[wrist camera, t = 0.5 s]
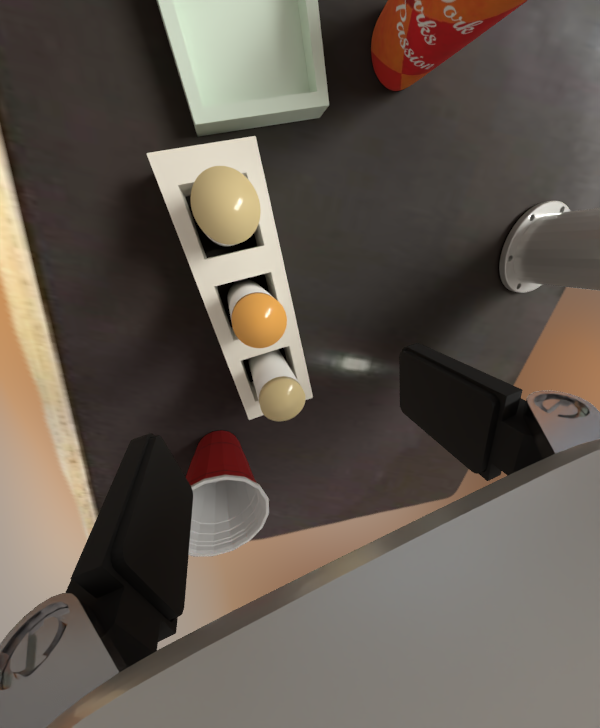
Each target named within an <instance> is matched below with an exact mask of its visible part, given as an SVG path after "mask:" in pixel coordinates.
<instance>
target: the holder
mask: <svg viewBox="0 0 600 728" xmlns="http://www.w3.org/2000/svg"><path fill="white" fill-rule="evenodd" d="M146 154H147V156H148V159H149V161H150V164H151V167H152V169H153V172H154V174H155V177H156V180H157V182H158V185H159V187H160V190H161V193H162V195H163V198H164V200H165V203H166V206H167V208H168V211H169V213H170V216H171V219H172V221H173V224H174V226H175V229H176V232H177V234H178V237H179V239H180V242H181V245H182V247H183V250H184V252H185V255H186V258H187V260H188V263H189V265H190V268H191V271H192V273H193V276H194V278H195V281H196V284H197V286H198V289H199V291H200V294H201V297H202V299H203V302H204V304H205V307H206V310H207V312H208V315H209V317H210V320H211V323H212V325H213V328H214V330H215V333H216V336H217V338H218V341H219V343H220V346H221V349H222V351H223V354H224V356H225V359H226V362H227V364H228V367H229V369H230V372H231V375H232V377H233V380H234V382H235V385H236V388H237V390H238V393H239V395H240V398H241V400H242V403H243V406H244V408H245V411H246V413H247V416H248V419H249V420H251V419H254V418H257V417H259V416H262V415H264V414H263V413H262V411H261V408H260V404H259V400H258V397H257V393H256V389H255V385H254V382H251V383H250V380H249V377H248V374H247V372H246V369H245V366H244V363H243V360H245V359H248V358H251V357H254V356H258V355H261V354H264V353H267V352H271V351H274V350H277V349H280V348H284V352H285V355H286V359H287V363H288V366H289V367H290V369H291V371H292V372H293V374H294V375H295V377H296V379H297V380H298V382H299V384H300V385H301V387H302V389H303V390H304V393H305V400H308V399H310V398H313V395H312V390H311V386H310V381H309V377H308V372H307V367H306V363H305V358H304V354H303V349H302V345H301V340H300V336H299V331H298V327H297V322H296V317H295V313H294V308H293V304H292V299H291V295H290V290H289V286H288V281H287V277H286V272H285V268H284V263H283V258H282V254H281V249H280V245H279V240H278V236H277V231H276V227H275V222H274V218H273V213H272V208H271V204H270V199H269V195H268V190H267V186H266V181H265V177H264V172H263V168H262V163H261V158H260V154H259V149H258V145H257V140H256V136H252V137H245V138H239V139H233V140H226V141H220V142H214V143H208V144H201V145H195V146H189V147H183V148H176V149H170V150H164V151H157V152H151V153H146ZM214 166H227V167H231V168H233V169H235V170H237V171H239V172H240V173H242V174H243V175H244V176H245V177H246V178H247V179H248V180H249V181H250V182H251V184H252V185H253V187H254V188H255V190H256V192H257V195H258V198H259V201H260V209H261V213H260V221H259V224H258V227H257V229H256V230H255V232H254V235H255V239H256V243H257V246H256V247H252V248H247V249H243V250H239V251H235V252H230V253H226V254H222V255H218V256H213V257H209V258H207V257H206V255H205V252H204V249H203V246H202V243H201V240H200V237H199V235H198V232H197V229H196V226H195V223H194V220H193V217H192V215H191V212H190V209H189V206H188V203H187V200H186V197H187V196H191V190H192V187H193V184H194V182H195V180H196V178H197V177H198V176H199V175H200V174H201V173H202V172H203V171H204V170H206V169H208V168H210V167H214ZM261 274H265V278H266V282H267V286H268V290H269V293H270V295H271V296H273V297H274V298H275V299H276V300H277V301H278V302H280V304H281V305H282V306H283V308H284V310H285V312H286V316H287V326H286V330H285V332H284V334H283V336H282V337H281V338H280V339H279V340H278V341H277V342H276V343H275V344H273V345H271V346H269V347H265V348H253V347H250V346H247V345H245V344H244V343H242V342H241V341H240V340H239V339H238V338H237V336H236V335H235V333H234V331H233V327H232V328H231V326H230V323H229V320H228V317H227V314H226V312H225V309H224V306H223V303H222V300H221V297H220V295H219V292H218V289H217V286H218V285H222V284H226V283H230V282H234V281H238V280H242V279H246V278H250V277H254V276H257V275H261Z"/></svg>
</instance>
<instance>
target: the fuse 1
mask: <svg viewBox="0 0 600 728" xmlns="http://www.w3.org/2000/svg"><path fill="white" fill-rule="evenodd" d="M190 199H191V208H192V212H193V215H194V218H195V220H196V222H197V224H198V225H199V227H200V228H201V229H202V231H203V232H204V233H205V234H206V236H207V237H208V238H209V239H210V240H211V241H212V242H214V243H215V244H217V245H220V246H225V247H226V246H232V245H236V244H239V243H242V242H244V241H246V240H247V239H249V238H250V237H251V236H252V235H253V233H254V232H255V230H256V229H257V227H258V224H259V221H260V213H261V209H260V201H259V198H258V195H257V192H256V190H255V188H254V187H253V185H252V184H251V182H250V181H249V180H248V179H247V178H246V177H245V176H244V175H243V174H242V173H240V172H239V171H237V170H235V169H233V168H231V167H227V166H214V167H210V168H208V169H206V170H204V171H203V172H202V173H201V174H200V175H199V176H198V177H197V178H196V180H195V182H194V184H193V187H192V190H191V198H190Z"/></svg>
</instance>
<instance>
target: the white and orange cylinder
mask: <svg viewBox="0 0 600 728" xmlns="http://www.w3.org/2000/svg"><path fill="white" fill-rule="evenodd" d="M227 300H228V306H229V311H230V317H231V322H232V327H233V331H234V333H235V335H236V336H237V338H238V339H239V340H240V341H241V342H242V343H244V344H245V345H247V346H250V347H253V348H265V347H269V346H271V345H273V344H275V343H276V342H277V341H278V340H279V339H280V338H281V337H282V336H283V334H284V332H285V330H286V326H287V316H286V312H285V310H284V308H283V306H282V305H281V304H280V302H278V301H277V300H276V299H275V298H274V297H273V296H271V295H270V294H269V293H268V292H267V291H266V290H264V289H263V288H262V287H261V286H260V285H259V284H257V283H256V282H254V281H252V280H240V281H237V282H236V283H234V284H233V285H232V286H231V287H230V289H229V291H228V296H227Z"/></svg>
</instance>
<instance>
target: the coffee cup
mask: <svg viewBox="0 0 600 728" xmlns="http://www.w3.org/2000/svg"><path fill="white" fill-rule="evenodd" d="M526 1H527V0H388V2H387V3H386V5H385V7H384V9H383V10H382V12H381V14H380V16H379V18H378V20H377V22H376V25H375V27H374V30H373V34H372V40H371V58H372V64H373V68H374V71H375V74H376V76H377V78H378V79H379V81H380V82H381V83H382V85H383V86H385V87H386V88H387V89H389V90H392V91H400V90H403V89H405V88H407V87H409V86H410V85H412V84H413V83H415V82H416V81H418V80H419V79H421V78H422V77H423V76H425V75H426V74H428V73H429V72H430V71H432V70H433V69H434V68H436V67H437V66H439V65H440V64H441V63H443V62H444V61H445V60H447V59H448V58H450V57H451V56H452V55H454V54H455V53H456V52H458V51H459V50H461V49H462V48H463V47H465V46H466V45H467V44H469V43H470V42H472V41H473V40H474V39H476V38H477V37H478V36H480V35H481V34H482V33H484V32H485V31H487V30H488V29H489V28H491V27H492V26H493V25H495V24H496V23H497V22H499V21H500V20H502V19H503V18H504V17H506V16H507V15H508V14H510V13H511V12H512V11H514V10H515V9H517V8H518V7H519V6H521V5H522V4H523V3H525V2H526Z"/></svg>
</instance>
